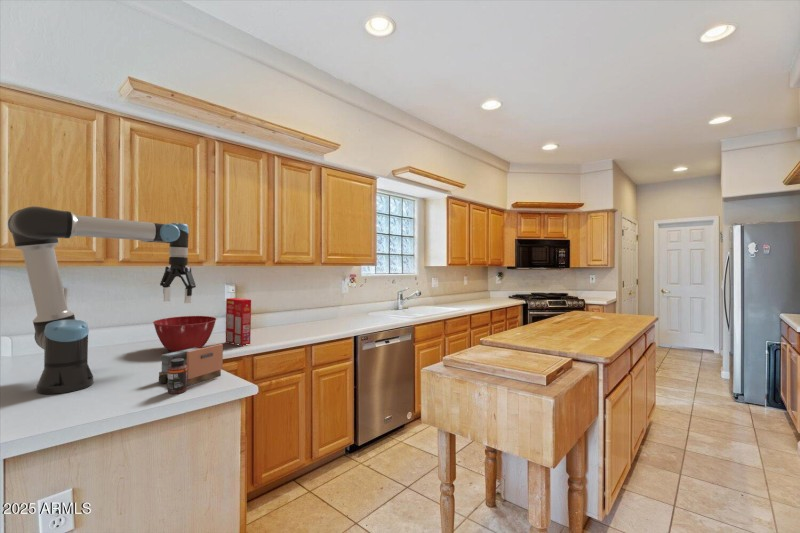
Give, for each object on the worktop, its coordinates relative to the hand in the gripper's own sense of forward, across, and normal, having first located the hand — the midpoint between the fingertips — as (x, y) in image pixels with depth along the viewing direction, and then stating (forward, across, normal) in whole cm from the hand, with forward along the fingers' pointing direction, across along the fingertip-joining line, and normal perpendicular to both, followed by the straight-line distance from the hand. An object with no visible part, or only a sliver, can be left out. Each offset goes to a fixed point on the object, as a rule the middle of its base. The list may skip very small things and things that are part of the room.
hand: (177, 302), depth 175 cm
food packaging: (+26, 0, -38) cm, 46 cm away
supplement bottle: (+27, -40, +30) cm, 56 cm away
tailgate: (+24, -39, +18) cm, 49 cm away
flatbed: (+27, -31, +17) cm, 44 cm away
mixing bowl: (+27, +13, -16) cm, 33 cm away
